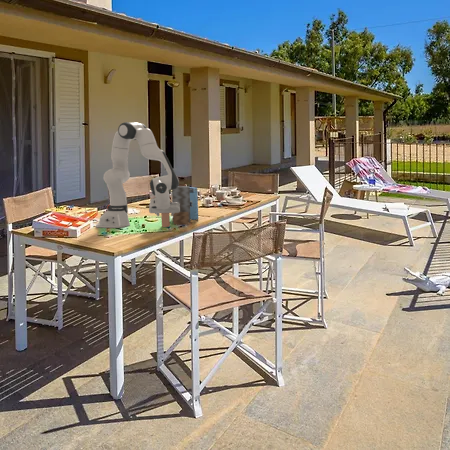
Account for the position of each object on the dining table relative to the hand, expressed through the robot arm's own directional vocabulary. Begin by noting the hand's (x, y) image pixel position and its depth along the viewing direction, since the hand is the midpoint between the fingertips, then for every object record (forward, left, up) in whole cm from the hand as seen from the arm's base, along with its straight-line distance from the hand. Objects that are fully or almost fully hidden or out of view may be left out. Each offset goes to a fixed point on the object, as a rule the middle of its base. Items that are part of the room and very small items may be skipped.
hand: (165, 215), depth 336 cm
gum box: (+12, +31, -8) cm, 34 cm away
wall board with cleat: (+10, +10, -8) cm, 16 cm away
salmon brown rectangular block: (0, +1, -8) cm, 8 cm away
